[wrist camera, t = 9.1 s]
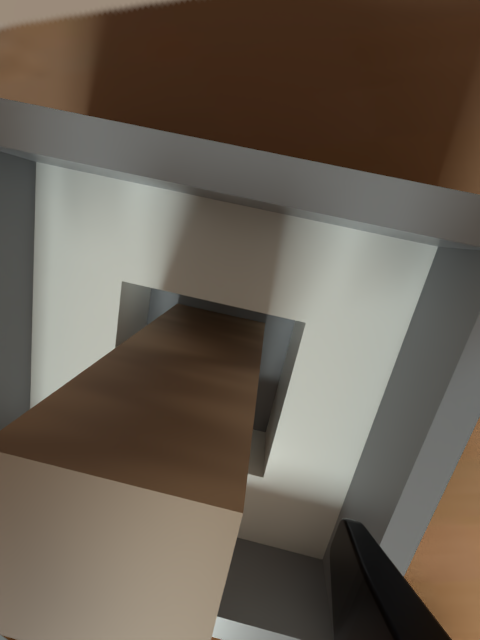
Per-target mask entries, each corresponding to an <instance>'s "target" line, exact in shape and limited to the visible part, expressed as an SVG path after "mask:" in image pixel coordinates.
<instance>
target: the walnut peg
mask: <svg viewBox="0 0 480 640" xmlns="http://www.w3.org/2000/svg"><path fill="white" fill-rule="evenodd" d="M264 329H265V323H263V322H258V321H254V320H249V319H245V318H240V317H235V316H231V315H226V314H222V313H217V312H213V311H208V310H204V309H199V308H195V307H190V306H186V305H181V304H176V305H175V306H173V307H172V308H170V309H169V310H168V311H166V312H165V313H163V314H162V315H161V316H159V317H158V318H156V319H155V320H154V321H152V322H151V323H150V324H148V325H147V326H145V327H144V328H143V329H141V330H140V331H138V332H137V333H136V334H134V335H133V336H131V337H130V338H129V339H127V340H126V341H124V342H123V343H122V344H120V345H119V346H117V347H116V348H115V349H113V350H112V351H110V352H109V353H108V354H106V355H105V356H104V357H102V358H101V359H99V360H98V361H97V362H95V363H94V364H92V365H91V366H90V367H88V368H87V369H85V370H84V371H83V372H81V373H80V374H78V375H77V376H76V377H74V378H73V379H71V380H70V381H69V382H67V383H66V384H64V385H63V386H62V387H60V388H59V389H57V390H56V391H55V392H53V393H52V394H51V395H49V396H48V397H46V398H45V399H44V400H42V401H41V402H39V403H38V404H37V405H35V406H34V407H32V408H31V409H30V410H28V411H27V412H25V413H24V414H23V415H21V416H20V417H18V418H17V419H16V420H14V421H13V422H11V423H10V424H9V425H7V426H6V427H4V428H3V429H2V430H0V635H3V636H7V637H10V638H14V639H17V640H211V638H212V634H213V630H214V626H215V622H216V618H217V614H218V610H219V606H220V602H221V599H222V595H223V591H224V587H225V583H226V579H227V575H228V571H229V567H230V563H231V559H232V555H233V551H234V547H235V544H236V540H237V536H238V532H239V528H240V524H241V520H242V516H243V511H244V502H245V493H246V485H247V476H248V467H249V459H250V450H251V442H252V433H253V424H254V416H255V407H256V398H257V390H258V381H259V373H260V364H261V355H262V347H263V338H264Z"/></svg>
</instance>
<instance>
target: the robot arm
mask: <svg viewBox="0 0 480 640" xmlns="http://www.w3.org/2000/svg"><path fill="white" fill-rule="evenodd" d="M330 576H331V595H332V615H333V633H334V640H452V639H451V638H450V637H449V635H448V634H447V633H446V632H445V630H444V629H443V628H442V626H441V625H440V624H439V622H438V621H437V620H436V619H435V617H434V616H433V615H432V613H431V612H430V611H429V609H428V608H427V607H426V605H425V604H424V603H423V602H422V600H421V599H420V598H419V596H418V595H417V594H416V592H415V591H414V590H413V588H412V587H411V586H410V585H409V583H408V582H407V581H406V579H405V578H404V577H403V575H402V574H401V573H400V571H399V570H398V569H397V568H396V566H395V565H394V564H393V562H392V561H391V560H390V558H389V557H388V556H387V555H386V553H385V552H384V551H383V549H382V548H381V547H380V545H379V544H378V543H377V541H376V540H375V539H374V538H373V536H372V535H371V534H370V532H369V531H368V530H367V528H366V527H365V526H364V525H363V524H362V523H361V522H359V521H356V520H352V519H348V518H342V519H341V520H340V522H339V525H338V527H337V530H336V533H335V535H334V538H333V541H332V543H331V547H330Z"/></svg>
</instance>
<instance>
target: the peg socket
mask: <svg viewBox="0 0 480 640" xmlns="http://www.w3.org/2000/svg"><path fill="white" fill-rule="evenodd" d="M176 304H181V305H186V306H190V307H195V308H199V309H204V310H208V311H213V312H217V313H222V314H226V315H231V316H235V317H240V318H245V319H249V320H254V321H258V322H263V323H265V329H264V338H263V347H262V355H261V364H260V373H259V381H258V390H257V398H256V407H255V416H254V424H253V433H252V442H251V450H250V459H249V467H248V476H247V485H246V493H245V502H244V511H243V516H242V520H241V524H240V528H239V532H238V536H237V540H236V544H235V547H234V551H233V555H232V559H231V563H230V567H229V571H228V575H227V579H226V583H225V587H224V591H223V595H222V599H221V602H220V606H219V610H218V614H217V618H216V622H215V626H214V630H213V634H212V637H215V638H219V639H222V640H334V633H333V615H332V595H331V576H330V547H331V543H332V541H333V538H334V535H335V533H336V530H337V527H338V525H339V522H340V520H341V519H342V518H348V519H352V520H356V521H359V522H361V523H362V524H363V525H364V526H365V527H366V528H367V530H368V531H369V532H370V534H371V535H372V536H373V538H374V539H375V540H376V541H377V543H378V544H379V545H380V547H381V548H382V549H383V551H384V552H385V553H386V555H387V556H388V557H389V558H390V560H391V561H392V562H393V564H394V565H395V566H396V568H397V569H398V570H399V571H400V573H401V574H402V575H403V577H404V575H405V573H406V571H407V569H408V566H409V564H410V562H411V560H412V558H413V556H414V554H415V552H416V550H417V547H418V545H419V543H420V541H421V539H422V537H423V535H424V533H425V531H426V529H427V526H428V524H429V522H430V520H431V518H432V516H433V514H434V512H435V510H436V507H437V505H438V503H439V501H440V499H441V497H442V495H443V493H444V491H445V488H446V486H447V484H448V482H449V480H450V478H451V476H452V474H453V472H454V469H455V467H456V465H457V463H458V461H459V459H460V457H461V455H462V453H463V451H464V448H465V446H466V444H467V442H468V440H469V438H470V436H471V434H472V432H473V429H474V427H475V425H476V423H477V421H478V419H479V417H480V195H478V194H473V193H468V192H463V191H458V190H453V189H448V188H443V187H438V186H433V185H428V184H423V183H419V182H414V181H409V180H404V179H399V178H394V177H389V176H384V175H379V174H374V173H369V172H364V171H359V170H354V169H349V168H344V167H339V166H334V165H329V164H325V163H320V162H315V161H310V160H305V159H300V158H295V157H290V156H285V155H280V154H275V153H270V152H265V151H260V150H255V149H250V148H245V147H240V146H235V145H230V144H226V143H221V142H216V141H211V140H206V139H201V138H196V137H191V136H186V135H181V134H176V133H171V132H166V131H161V130H156V129H151V128H146V127H141V126H136V125H132V124H127V123H122V122H117V121H112V120H107V119H102V118H97V117H92V116H87V115H82V114H77V113H72V112H67V111H62V110H57V109H52V108H47V107H42V106H37V105H33V104H28V103H23V102H18V101H13V100H8V99H3V98H0V430H2V429H3V428H4V427H6V426H7V425H9V424H10V423H11V422H13V421H14V420H16V419H17V418H18V417H20V416H21V415H23V414H24V413H25V412H27V411H28V410H30V409H31V408H32V407H34V406H35V405H37V404H38V403H39V402H41V401H42V400H44V399H45V398H46V397H48V396H49V395H51V394H52V393H53V392H55V391H56V390H57V389H59V388H60V387H62V386H63V385H64V384H66V383H67V382H69V381H70V380H71V379H73V378H74V377H76V376H77V375H78V374H80V373H81V372H83V371H84V370H85V369H87V368H88V367H90V366H91V365H92V364H94V363H95V362H97V361H98V360H99V359H101V358H102V357H104V356H105V355H106V354H108V353H109V352H110V351H112V350H113V349H115V348H116V347H117V346H119V345H120V344H122V343H123V342H124V341H126V340H127V339H129V338H130V337H131V336H133V335H134V334H136V333H137V332H138V331H140V330H141V329H143V328H144V327H145V326H147V325H148V324H150V323H151V322H152V321H154V320H155V319H156V318H158V317H159V316H161V315H162V314H163V313H165V312H166V311H168V310H169V309H170V308H172V307H173V306H175V305H176Z"/></svg>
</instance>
